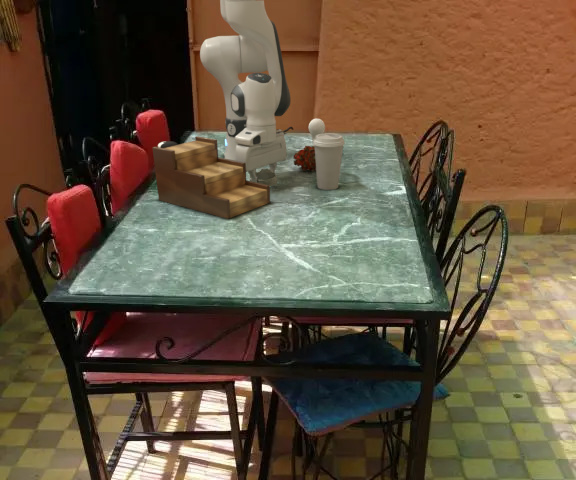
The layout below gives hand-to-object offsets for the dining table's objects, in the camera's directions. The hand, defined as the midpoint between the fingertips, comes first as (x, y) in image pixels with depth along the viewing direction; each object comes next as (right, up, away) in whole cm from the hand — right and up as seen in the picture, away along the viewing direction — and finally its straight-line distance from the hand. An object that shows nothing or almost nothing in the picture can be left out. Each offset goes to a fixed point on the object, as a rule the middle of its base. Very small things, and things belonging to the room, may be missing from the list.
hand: (262, 180), depth 198 cm
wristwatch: (0, -2, +1) cm, 2 cm away
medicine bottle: (-30, +2, +6) cm, 30 cm away
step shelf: (-14, -10, -12) cm, 21 cm away
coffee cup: (+20, -2, -1) cm, 20 cm away
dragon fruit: (+14, +8, +16) cm, 23 cm away
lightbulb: (+18, +24, +40) cm, 50 cm away
